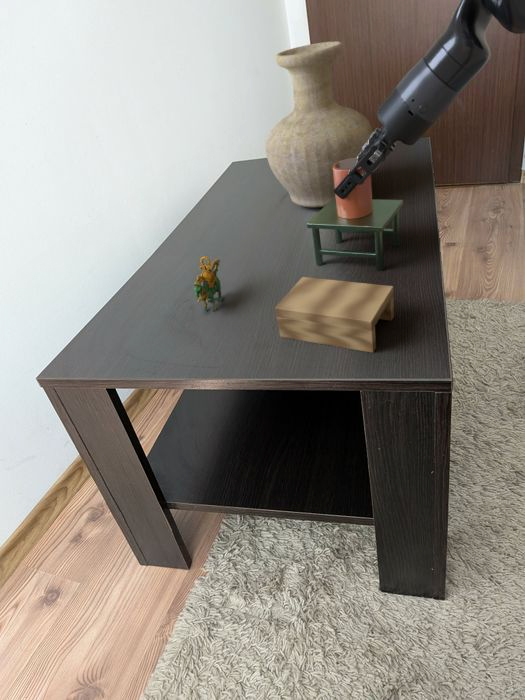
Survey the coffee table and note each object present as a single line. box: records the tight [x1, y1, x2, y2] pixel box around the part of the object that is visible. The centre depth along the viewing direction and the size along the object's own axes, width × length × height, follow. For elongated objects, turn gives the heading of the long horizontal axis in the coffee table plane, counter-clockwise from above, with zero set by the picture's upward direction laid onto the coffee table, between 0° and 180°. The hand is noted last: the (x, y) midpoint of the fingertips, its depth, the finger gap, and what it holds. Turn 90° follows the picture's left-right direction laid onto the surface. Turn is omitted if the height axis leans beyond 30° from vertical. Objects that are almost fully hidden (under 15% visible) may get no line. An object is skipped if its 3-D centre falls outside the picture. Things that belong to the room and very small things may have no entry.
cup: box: [333, 158, 373, 219], centre depth 84 cm, size 6×6×8 cm
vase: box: [265, 40, 374, 208], centre depth 106 cm, size 22×22×30 cm
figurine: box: [193, 256, 223, 312], centre depth 84 cm, size 3×12×8 cm, turn 167°
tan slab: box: [274, 276, 395, 354], centre depth 72 cm, size 14×9×5 cm, turn 61°
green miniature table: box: [306, 199, 404, 272], centre depth 88 cm, size 13×11×8 cm
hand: (343, 187), depth 84 cm, fingers open, 6 cm apart
